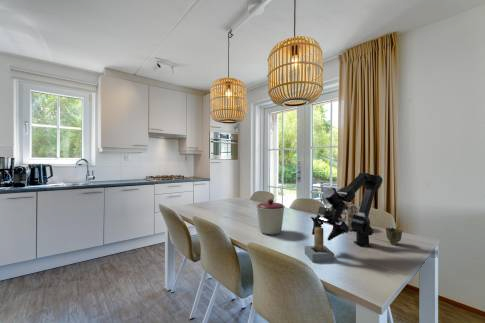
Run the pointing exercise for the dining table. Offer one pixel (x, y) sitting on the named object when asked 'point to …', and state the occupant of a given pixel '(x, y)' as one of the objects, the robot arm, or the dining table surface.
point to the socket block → (319, 254)
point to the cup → (393, 235)
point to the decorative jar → (349, 214)
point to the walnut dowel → (318, 239)
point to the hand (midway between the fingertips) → (320, 237)
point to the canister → (270, 217)
